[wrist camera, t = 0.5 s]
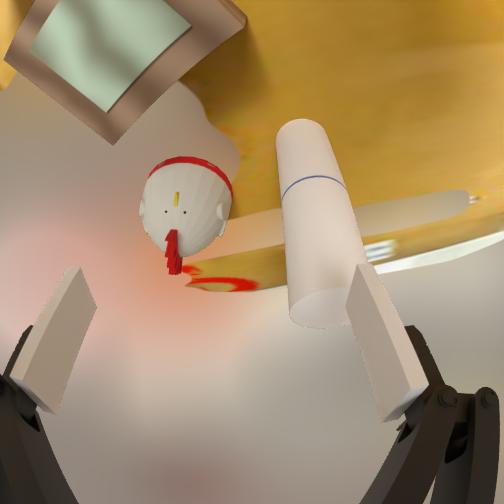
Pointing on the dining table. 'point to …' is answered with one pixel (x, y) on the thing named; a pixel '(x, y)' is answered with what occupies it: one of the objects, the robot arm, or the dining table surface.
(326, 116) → the dining table surface
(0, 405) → the robot arm
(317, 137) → the cylindrical container
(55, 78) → the walnut stand
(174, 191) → the kitchen timer
